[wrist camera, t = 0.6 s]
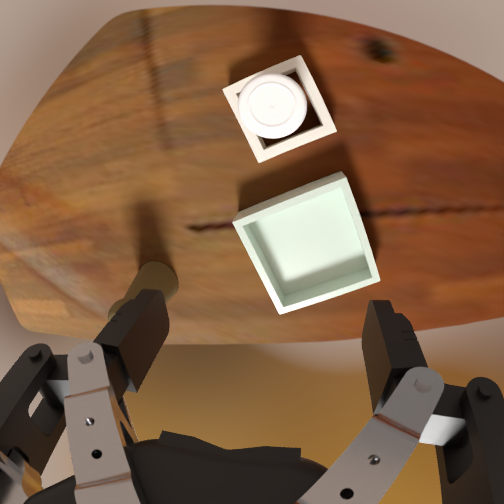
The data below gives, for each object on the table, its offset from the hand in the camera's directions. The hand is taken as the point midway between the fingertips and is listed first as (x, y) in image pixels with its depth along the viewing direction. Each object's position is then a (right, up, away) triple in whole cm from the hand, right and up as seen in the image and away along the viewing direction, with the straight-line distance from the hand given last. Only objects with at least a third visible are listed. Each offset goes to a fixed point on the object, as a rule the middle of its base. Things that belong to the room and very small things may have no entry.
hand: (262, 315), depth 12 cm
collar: (+3, +17, +19) cm, 26 cm away
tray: (+6, +4, +25) cm, 26 cm away
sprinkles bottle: (+3, +17, +19) cm, 26 cm away
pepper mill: (-13, -1, +30) cm, 33 cm away
